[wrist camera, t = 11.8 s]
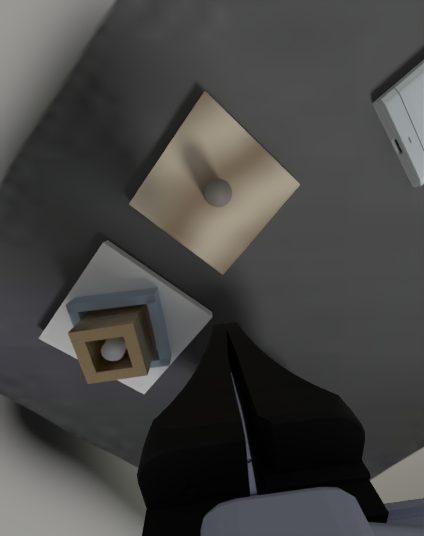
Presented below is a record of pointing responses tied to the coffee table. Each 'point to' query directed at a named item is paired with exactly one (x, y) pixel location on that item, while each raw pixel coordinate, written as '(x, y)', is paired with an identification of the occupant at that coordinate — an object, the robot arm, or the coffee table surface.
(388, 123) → the hard drive
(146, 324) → the tan square ring block
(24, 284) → the coffee table surface
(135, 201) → the stand
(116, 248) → the white peg base
